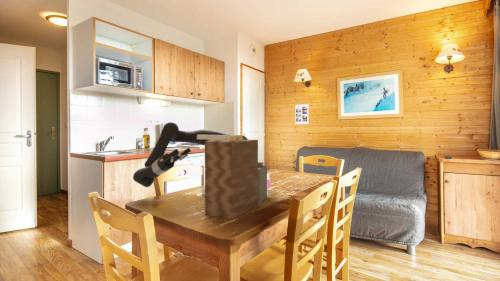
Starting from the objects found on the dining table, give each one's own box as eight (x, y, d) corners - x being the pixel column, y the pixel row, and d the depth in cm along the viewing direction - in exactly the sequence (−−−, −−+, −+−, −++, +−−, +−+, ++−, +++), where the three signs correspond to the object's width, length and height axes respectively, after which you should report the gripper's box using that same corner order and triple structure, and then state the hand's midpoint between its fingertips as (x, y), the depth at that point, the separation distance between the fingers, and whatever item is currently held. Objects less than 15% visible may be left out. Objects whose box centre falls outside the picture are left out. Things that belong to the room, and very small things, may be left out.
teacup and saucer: (205, 192, 158) (205, 185, 158) (215, 194, 153) (215, 187, 153) (193, 195, 151) (193, 188, 151) (203, 198, 146) (203, 190, 146)
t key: (192, 139, 123) (192, 135, 123) (204, 138, 130) (203, 134, 130) (232, 140, 112) (232, 135, 112) (242, 139, 119) (242, 135, 119)
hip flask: (259, 204, 133) (260, 164, 132) (252, 203, 134) (252, 164, 133) (267, 196, 148) (267, 160, 147) (260, 196, 149) (260, 160, 148)
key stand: (205, 214, 118) (204, 138, 116) (233, 200, 139) (233, 136, 137) (232, 219, 111) (232, 139, 110) (257, 204, 133) (257, 137, 131)
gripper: (149, 159, 131) (170, 144, 125) (170, 156, 144) (190, 142, 137) (154, 173, 130) (176, 158, 123) (175, 169, 143) (196, 155, 136)
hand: (184, 150), depth 130 cm, fingers open, 8 cm apart
